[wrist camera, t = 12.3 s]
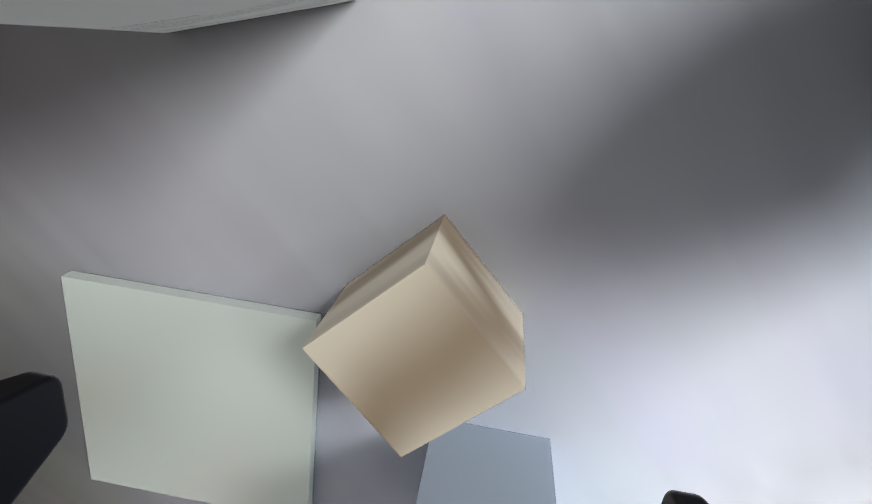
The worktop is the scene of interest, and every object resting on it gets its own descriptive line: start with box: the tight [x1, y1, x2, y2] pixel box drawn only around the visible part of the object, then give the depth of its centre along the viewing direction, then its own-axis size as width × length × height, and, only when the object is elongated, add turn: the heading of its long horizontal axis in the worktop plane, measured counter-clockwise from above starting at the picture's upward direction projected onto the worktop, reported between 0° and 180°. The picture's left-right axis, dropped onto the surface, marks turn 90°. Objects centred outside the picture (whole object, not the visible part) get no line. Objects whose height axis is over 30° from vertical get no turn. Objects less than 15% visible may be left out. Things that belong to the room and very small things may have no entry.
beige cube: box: [302, 215, 526, 457], centre depth 19 cm, size 5×5×5 cm
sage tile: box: [61, 271, 321, 504], centre depth 24 cm, size 11×11×1 cm
